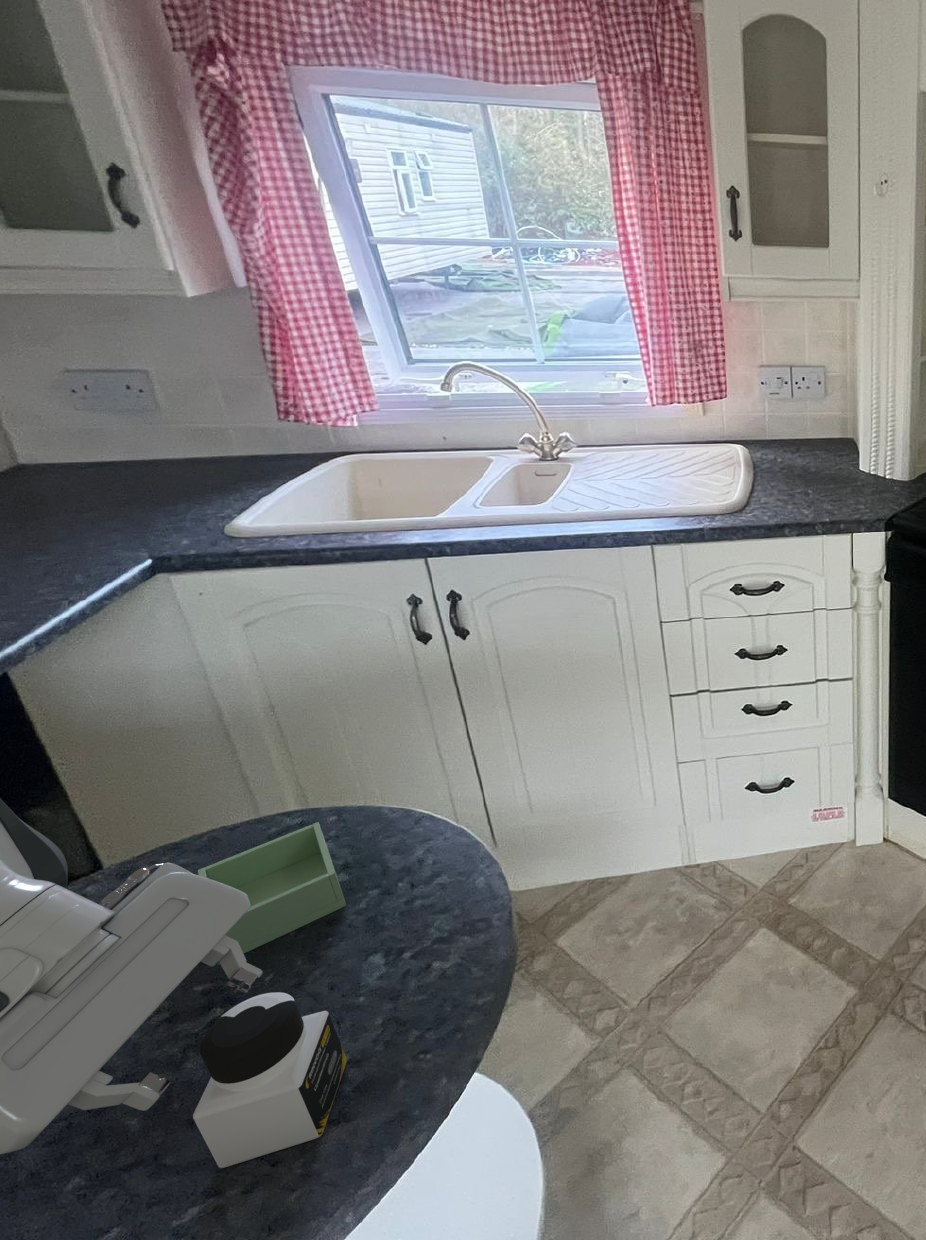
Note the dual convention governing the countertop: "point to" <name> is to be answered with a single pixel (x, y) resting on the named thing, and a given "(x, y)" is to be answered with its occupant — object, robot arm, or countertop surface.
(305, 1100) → the medicine bottle
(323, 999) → the countertop surface
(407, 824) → the countertop surface
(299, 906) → the tub
